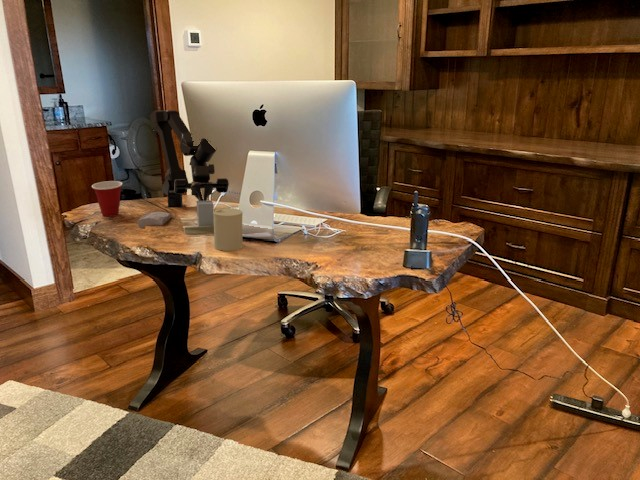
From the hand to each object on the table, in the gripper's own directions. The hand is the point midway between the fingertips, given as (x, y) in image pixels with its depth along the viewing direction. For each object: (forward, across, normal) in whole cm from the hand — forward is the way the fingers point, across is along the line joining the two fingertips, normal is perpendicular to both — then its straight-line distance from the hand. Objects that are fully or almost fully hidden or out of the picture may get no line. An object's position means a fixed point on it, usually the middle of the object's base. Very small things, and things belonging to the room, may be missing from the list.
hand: (204, 206), depth 181 cm
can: (+21, +5, -10) cm, 24 cm away
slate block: (+7, 0, +3) cm, 7 cm away
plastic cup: (-12, -32, +24) cm, 42 cm away
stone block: (0, -17, +13) cm, 21 cm away
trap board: (+5, 0, +6) cm, 8 cm away
